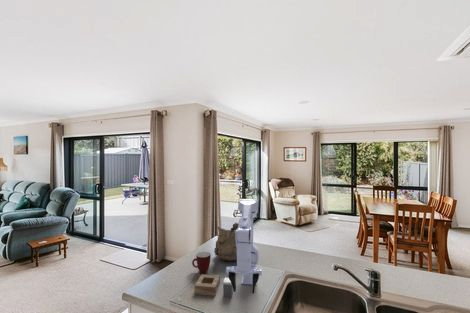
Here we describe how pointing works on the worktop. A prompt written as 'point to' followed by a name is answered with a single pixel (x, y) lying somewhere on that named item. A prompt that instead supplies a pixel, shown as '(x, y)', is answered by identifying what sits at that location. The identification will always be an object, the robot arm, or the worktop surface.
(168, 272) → the worktop surface
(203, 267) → the mug
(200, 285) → the socket block
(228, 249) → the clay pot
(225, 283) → the plug
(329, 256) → the worktop surface
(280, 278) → the worktop surface
